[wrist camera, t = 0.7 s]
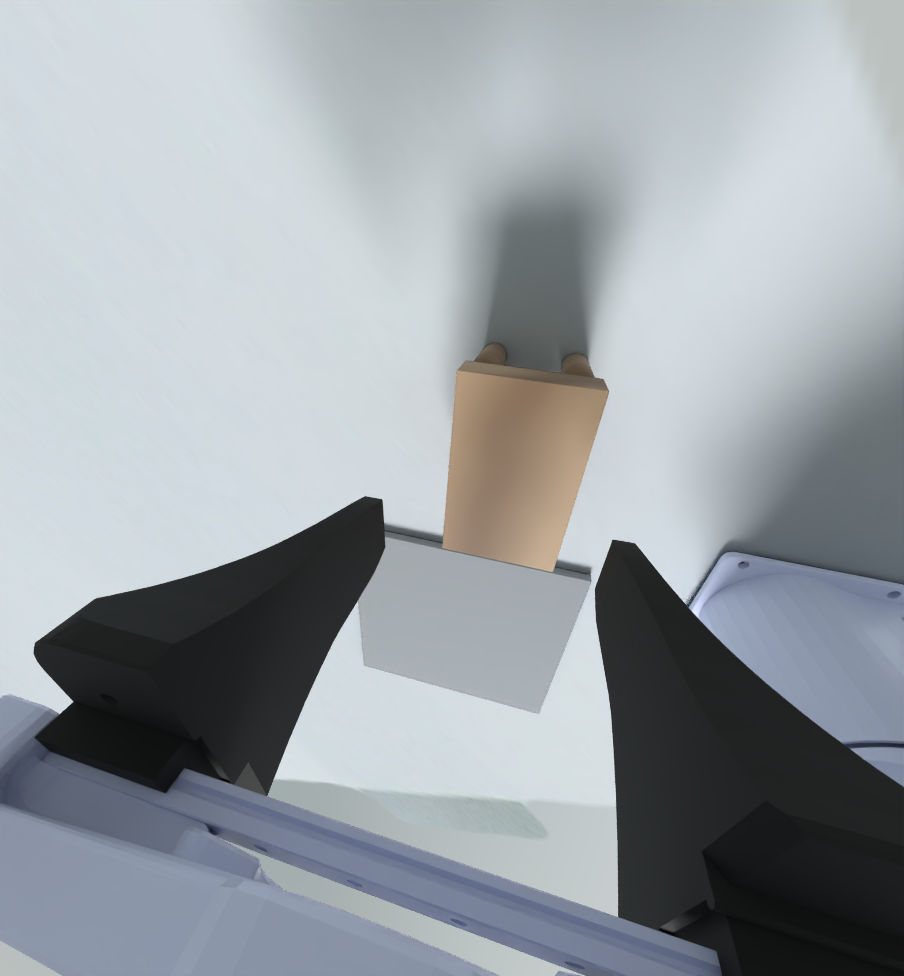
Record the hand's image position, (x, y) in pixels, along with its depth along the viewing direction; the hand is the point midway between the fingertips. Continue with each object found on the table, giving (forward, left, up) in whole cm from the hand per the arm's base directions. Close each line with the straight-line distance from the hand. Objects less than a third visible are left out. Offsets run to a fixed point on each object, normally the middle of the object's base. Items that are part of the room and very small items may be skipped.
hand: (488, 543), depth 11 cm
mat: (+2, +17, -9) cm, 19 cm away
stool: (0, 0, -9) cm, 9 cm away
